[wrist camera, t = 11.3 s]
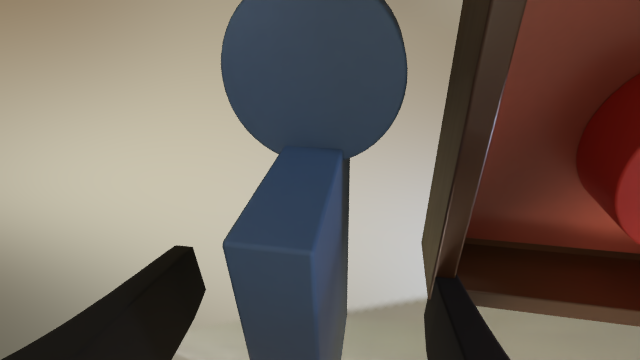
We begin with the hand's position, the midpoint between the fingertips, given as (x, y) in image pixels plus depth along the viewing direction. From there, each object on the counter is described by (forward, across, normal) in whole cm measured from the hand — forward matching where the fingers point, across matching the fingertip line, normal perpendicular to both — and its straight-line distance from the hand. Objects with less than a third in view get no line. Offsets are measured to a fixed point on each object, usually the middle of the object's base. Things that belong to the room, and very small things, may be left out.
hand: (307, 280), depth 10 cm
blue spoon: (+2, 0, -2) cm, 3 cm away
